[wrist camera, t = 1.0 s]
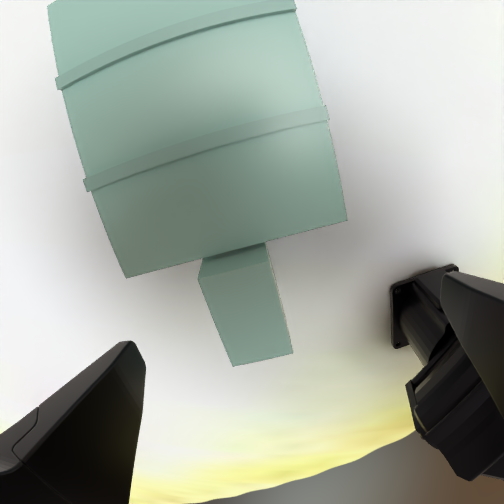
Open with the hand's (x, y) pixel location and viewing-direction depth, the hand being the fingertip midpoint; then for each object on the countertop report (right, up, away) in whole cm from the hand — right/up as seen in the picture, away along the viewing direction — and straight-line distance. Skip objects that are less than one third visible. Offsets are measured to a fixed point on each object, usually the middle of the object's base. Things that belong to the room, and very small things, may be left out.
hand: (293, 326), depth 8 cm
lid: (-3, +7, +6) cm, 9 cm away
